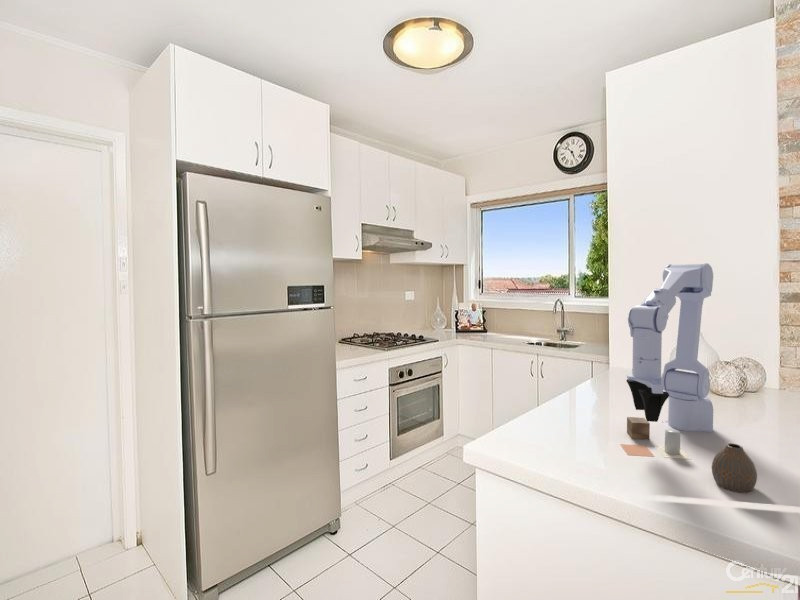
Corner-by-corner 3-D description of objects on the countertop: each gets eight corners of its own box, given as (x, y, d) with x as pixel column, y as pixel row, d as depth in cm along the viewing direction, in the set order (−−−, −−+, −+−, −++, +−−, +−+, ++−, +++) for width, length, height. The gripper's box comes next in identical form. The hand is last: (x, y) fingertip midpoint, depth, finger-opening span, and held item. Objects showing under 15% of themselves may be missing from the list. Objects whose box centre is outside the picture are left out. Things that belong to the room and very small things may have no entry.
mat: (678, 449, 100) (678, 445, 100) (693, 464, 92) (694, 461, 92) (618, 445, 103) (618, 442, 103) (628, 460, 95) (628, 456, 95)
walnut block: (643, 436, 108) (644, 417, 108) (649, 442, 104) (649, 423, 104) (626, 435, 109) (627, 416, 108) (631, 442, 105) (632, 422, 105)
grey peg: (676, 450, 98) (677, 429, 97) (682, 455, 95) (682, 434, 95) (662, 449, 98) (662, 428, 98) (667, 454, 96) (668, 433, 95)
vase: (702, 481, 85) (703, 439, 84) (734, 479, 86) (735, 437, 85) (732, 500, 78) (733, 454, 78) (766, 497, 79) (768, 452, 78)
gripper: (618, 351, 104) (618, 404, 105) (637, 364, 90) (637, 425, 91) (650, 351, 103) (649, 405, 104) (674, 365, 89) (673, 427, 90)
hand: (646, 415), depth 97 cm, fingers open, 7 cm apart
